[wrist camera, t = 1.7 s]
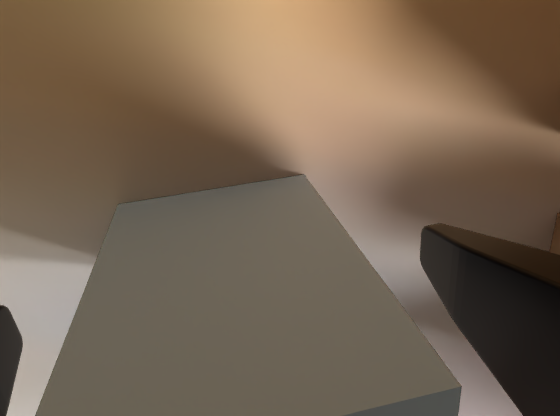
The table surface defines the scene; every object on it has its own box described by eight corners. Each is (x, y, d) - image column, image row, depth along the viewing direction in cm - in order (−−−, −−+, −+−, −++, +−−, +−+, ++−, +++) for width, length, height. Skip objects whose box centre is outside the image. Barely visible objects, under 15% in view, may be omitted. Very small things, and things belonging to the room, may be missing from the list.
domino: (303, 174, 12) (461, 386, 5) (308, 237, 12) (448, 492, 6) (118, 204, 11) (1, 498, 4) (136, 268, 12) (65, 599, 5)
